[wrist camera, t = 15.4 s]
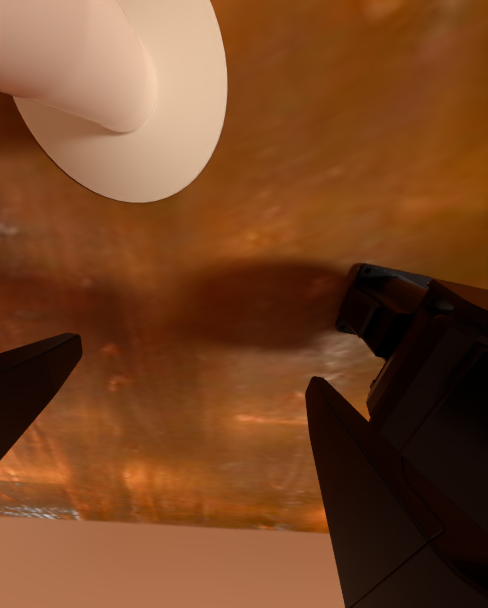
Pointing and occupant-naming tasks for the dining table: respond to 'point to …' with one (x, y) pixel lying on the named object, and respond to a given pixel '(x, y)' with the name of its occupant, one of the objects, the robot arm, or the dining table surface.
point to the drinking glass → (77, 60)
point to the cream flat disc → (164, 119)
